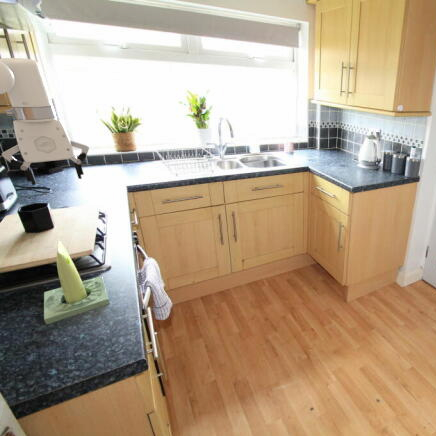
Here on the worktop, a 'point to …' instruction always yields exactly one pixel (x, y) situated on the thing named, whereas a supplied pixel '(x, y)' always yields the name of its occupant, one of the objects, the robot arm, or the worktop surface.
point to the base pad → (59, 311)
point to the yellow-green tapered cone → (69, 277)
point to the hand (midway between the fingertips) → (57, 180)
